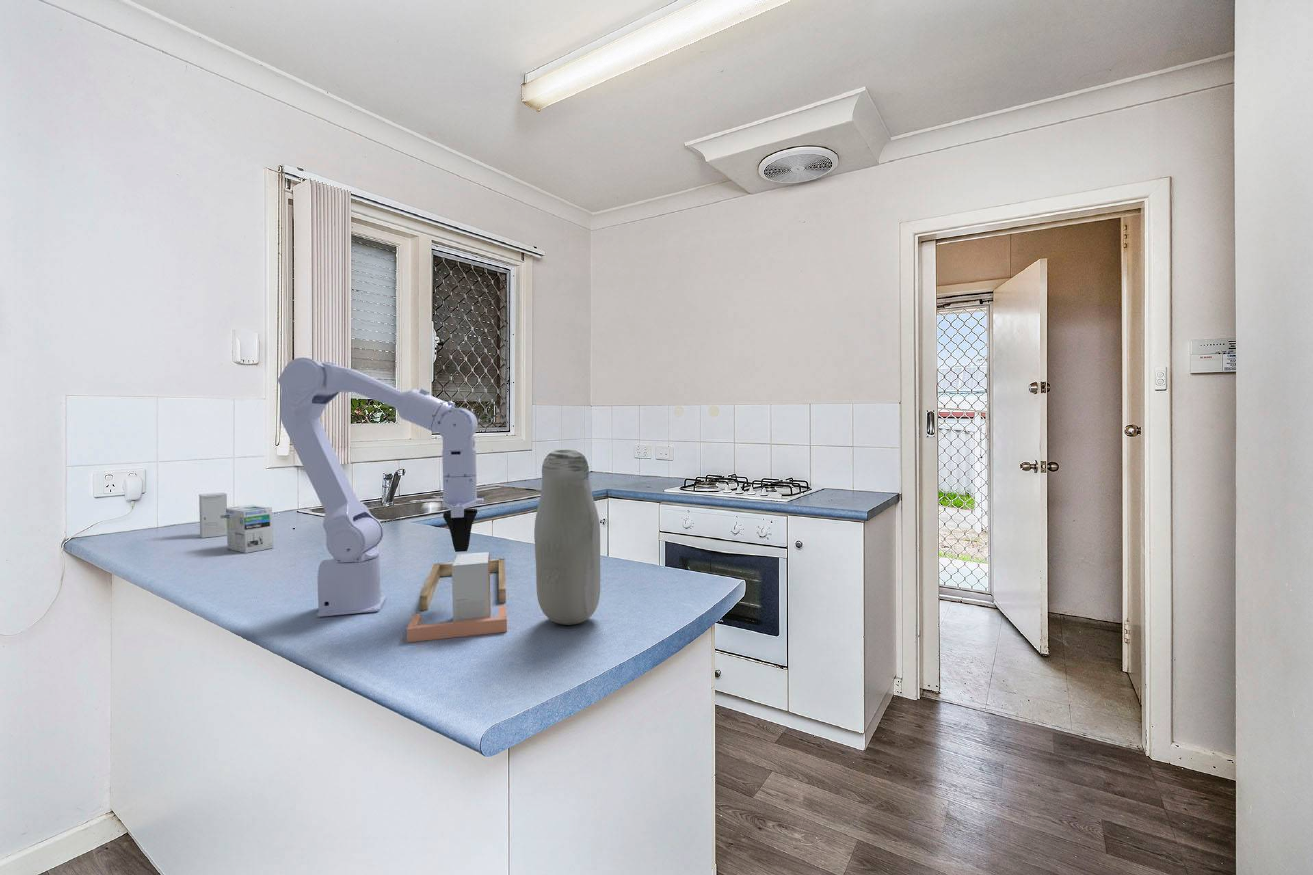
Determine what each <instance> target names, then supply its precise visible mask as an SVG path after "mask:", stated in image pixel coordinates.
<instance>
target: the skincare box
mask: <svg viewBox="0 0 1313 875" xmlns="http://www.w3.org/2000/svg"><path fill="white" fill-rule="evenodd" d="M227 495H228V494H227V493H226V492H214V493H213V492H211V493H202V494H201V493H199V495H198V496H199V498H198V499H199V500H198V501H199V536H200V537H201V539H205V538H215V537H221V536H227V522H226V508H228V504H227V503H228V500H227V499H228V496H227Z"/></svg>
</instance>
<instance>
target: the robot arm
mask: <svg viewBox="0 0 1313 875" xmlns="http://www.w3.org/2000/svg"><path fill="white" fill-rule="evenodd" d="M277 382H278V383H279V386H280V390H281V391H280V392H281V393H280V394H281V395H280V408H279V409H280V410H279V418H280V421H281V423H282V425H283V427H284V429H285V432H286V434H287V436H288V437H289V440H290V443H291V444H292V446H293V448H294V450H295V452H296V455H297V457H298V458H299V460H300V463H301V464H302V466H303V469H304V471H305V472H306V475H307V477H308V479H309V481H310V483H311V485H312V487H313V489H314V492H315V494H316V495H317V497H318V500H319V502H320V503H321V506H322V508H323V510H324V512H325V513H324V517H323V522H322V527H323V529H324V532H325V534H326V535H325V536H326V543H325V544H326V549H327V552H328V553H329V554H330V555H331V556H332V558H331V559H324V560H322V561H321V562H320V564H319V565H318V570H317V600H318V604H317V606H318V613H317V617H321V618H322V617H329V616H331V617H332V616H341V615H352V614H362V613H373V612H379V611H380V609H381V608H382V606H383V605H384V603H385V601H386V599H387V597H388V596H387V595H385V594H383V595H382V593H381V591H382V590H381V566H380V565H381V561H380V551H379V549H378V545H379V544H380V543H381V541H382V540H383V538H384V527H383V524H382V523H381V522H380V520H379V519H378V518H377V517H374V516H373V515H372V513H371V512H370V510H369V508H368V506H367V505H366V504H364V503H363V502H362V501H361V500H359V499H358V498H357V496H356V494H355V491H354V489H353V486H352V485H351V483H350V480H349V479H348V477H347V474H346V472H345V470H344V468H343V466H342V464H341V462H340V459H339V458H338V455H337V454H336V452H335V450H334V448H333V445H332V443H331V442H330V439H329V437H328V435H327V433H326V430H325V429H324V426H323V424H322V422H321V420H320V418H321V416H322V414H323V412H324V410H325V409H326V407H327V405H328V404H329V403H330V402H332V401H333V400H334V399H335V398H336V397H337V396H338V395H339V394H340V393H345V394H346V393H355V394H357V395H361V396H364V397H366V398H369V399H371V400H374V401H376V402H380V403H382V404H385V405H387V406H389V407H393V408H395V409H396V410H397V413H398V416H399V417H400V418H401V419H402V420H405V421H407V422H409V423H411V424H414V425H416V426H419V427H422V428H423V429H426V430H429V431H431V432H433V433H437V432H438V434H439V435H440V437H441V438H442V452H441V454H442V455H441V456H442V459H441V460H442V463H441V464H442V495H443V497H442V498H443V499H442V501H441V504H442V506H443V507H444V508H447V509H449V511H445V512H443V514H442V517H443V520H444V521H445V523H446V525H447V527H448V530H449V532H450V536H451V540H452V545H453V549H454V552H455V553H460V552H461V553H462V552H468V550H469V545H470V541H471V534H472V528H473V524H474V520H475V519H476V518H477V517H476V516H477V514H478V509H477V508H471V507H474V506H476V505H479V504H484V502H485V499H484V498H483V497H482V498H480V497H479V498H478V490H477V489H478V488H477V484H478V483H477V480H478V479H477V449H476V440H475V439H476V437H475V434H476V432H477V430H478V427H479V425H478V424H479V422H478V419H477V417H476V415H475V414H474V413H473V412H472V411H470V410H469V409H468V408H467V407H457V408H455V405H456V402H453V401H451V400H448V401H445V400H442V399H440V398H437V397H436V396H433V395H431V394H430V393H431V391H430V390H427V389H426V388H420V390H419V389H417V388H413V389H409V390H408V391H402V390H400V389H398V388H396V387H393V386H392V385H390V384H388V383H386V382H383V381H381V380H378V379H376V378H374V377H372V376H371V375H367V374H366V373H363V372H361V371H359V370H357V369H353V368H349V367H346V366H342V365H337V364H335V363H334V362H330V361H318V360H314V359H312V358H309V357H298V358H294V359H292V360H290V361H289V362H288V363H287V364H286V366H285V367H284V369H283V370H282V372H281V374H280V376H279V377H278V378H277Z"/></svg>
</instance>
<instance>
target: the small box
mask: <svg viewBox="0 0 1313 875" xmlns="http://www.w3.org/2000/svg"><path fill="white" fill-rule="evenodd" d="M490 560H491V559H490V552H489V551H487V552H486V551H484V552H473V553H472V552H471V553H457V554H456V555H455V558H454V559H453V562H454V563H453V565H452V576H451V578H452V579H451V584H452V585H451V586H452V588H451V590H452V614H453V615H452V620H453V621H452V622H456V621H466V620H476V619H486V618H492V616H491V615H492V608H491V607H492V606H491V604H492V603H491V598H492V597H491V572H490Z"/></svg>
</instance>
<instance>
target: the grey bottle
mask: <svg viewBox="0 0 1313 875" xmlns="http://www.w3.org/2000/svg"><path fill="white" fill-rule="evenodd" d="M589 474H590V466H589V463H588V461H587V458H586V456H585V455H584V454H583V453H581V452H579V451H577V450H574V449H573V450H572V449H556V450H553V451H551V452H549V453H548V454H547V455H546V456H545V458H544V460H543V463H542V467H541V479H542V480H541V488H540V489H541V492H540V497H539V501H538V506H537V509H536V510H537V511H536V515H535V520H534V527H533V528H534V530H533V531H534V536H533V537H534V556H535V557H534V558H535V578H536V579H535V583H536V595H537V602H538V605H539V607H540V609H541V611H542V613H543V614H544V615H545V616H546V617H547V619H549V620H550V621H552V622H554V623H556V624H559V625H567V626H571V625H573V626H574V625H577V624H581V623H584V622H586V621H587V620H588V619H590V617H593V615H594V613H595V612H596V610H597V608H598V605H599V603H600V602H599V601H600V595H601V525H600V519H599V518H600V517H599V512H598V508H597V507H596V502H595V500H594V496H593V494H592V493H593V492H592V487H591V482H590V478H589Z"/></svg>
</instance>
